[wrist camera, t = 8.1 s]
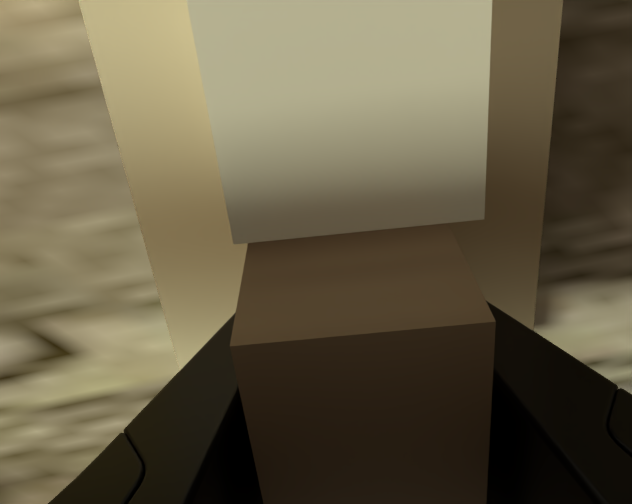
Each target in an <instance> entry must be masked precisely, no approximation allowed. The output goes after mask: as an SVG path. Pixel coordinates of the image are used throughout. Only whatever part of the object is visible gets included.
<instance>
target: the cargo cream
mask: <svg viewBox="0 0 632 504" xmlns="http://www.w3.org/2000/svg"><path fill="white" fill-rule="evenodd" d="M186 1H187V6H188V11H189V16H190V21H191V26H192V32H193V37H194V42H195V47H196V52H197V58H198V63H199V68H200V73H201V78H202V83H203V89H204V94H205V99H206V104H207V109H208V115H209V120H210V125H211V130H212V135H213V140H214V146H215V151H216V156H217V161H218V166H219V171H220V177H221V182H222V187H223V192H224V197H225V203H226V208H227V213H228V218H229V223H230V228H231V234H232V239H233V244H244V243H254V242H264V241H274V240H284V239H294V238H304V237H314V236H324V235H334V234H344V233H354V232H364V231H374V230H384V229H394V228H404V227H414V226H424V225H434V224H444V223H454V222H463V221H473V220H483V219H484V216H485V188H486V161H487V133H488V105H489V77H490V50H491V22H492V0H186Z"/></svg>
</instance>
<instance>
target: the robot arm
mask: <svg viewBox="0 0 632 504" xmlns="http://www.w3.org/2000/svg"><path fill="white" fill-rule="evenodd" d="M486 302H487V304H488V306H489V308H490V310H491V313H492V315H493V317H494V319H495V321H496V328H495V347H494V367H493V386H492V405H491V424H490V443H489V462H488V481H487V500H486V504H632V394H630V393H629V392H627V391H625V390H624V389H622V388H620V389H618V386H617V385H616V384H614V383H613V382H611V381H610V380H608V379H607V378H605V377H604V376H602V375H600V374H599V373H597V372H596V371H594V370H593V369H591V368H590V367H588V366H587V365H585V364H583V363H582V362H580V361H579V360H577V359H576V358H574V357H573V356H571V355H570V354H568V353H567V352H565V351H563V350H562V349H560V348H559V347H557V346H556V345H554V344H553V343H551V342H550V341H548V340H546V339H545V338H543V337H542V336H540V335H539V334H537V333H536V332H534V331H533V330H531V329H530V328H528V327H526V326H525V325H523V324H522V323H520V322H519V321H517V320H516V319H514V318H513V317H511V316H509V315H508V314H506V313H505V312H503V311H502V310H500V309H499V308H497V307H496V306H494V305H493V304H491V303H489V302H488V301H486ZM235 313H236V312H235ZM235 313H234V314H233V315H232V316H231V318H230V319H229V320H228V321H227V322H226V323H225V324H224V325H223V326H222V327H221V328H220V329H219V330H218V331H217V332H216V333H215V334H214V335H213V336H212V337H211V339H210V340H209V341H208V342H207V343H206V344H205V345H204V346H203V347H202V348H201V349H200V350H199V351H198V352H197V353H196V354H195V355H194V356H193V357H192V358H191V360H190V361H189V362H188V363H187V364H186V365H185V366H184V367H183V368H182V369H181V370H180V371H179V372H178V373H177V374H176V375H175V376H174V377H173V378H172V379H171V381H170V382H169V383H168V384H167V385H166V386H165V387H164V388H163V389H162V390H161V391H160V392H159V393H158V394H157V395H156V396H155V397H154V398H153V399H152V400H151V402H150V403H149V404H148V405H147V406H146V407H145V408H144V409H143V410H142V411H141V412H140V413H139V414H138V415H137V416H136V417H135V418H134V419H133V420H132V421H131V423H130V424H129V425H128V426H127V427H126V428H125V429H124V433H120V434H119V435H118V436H117V437H116V438H115V439H114V440H113V441H112V442H111V443H110V444H109V445H108V446H107V447H106V448H105V450H104V451H103V452H102V453H101V454H100V455H99V456H98V457H97V458H96V459H95V460H94V461H93V462H92V463H91V464H90V465H89V466H88V467H87V468H86V469H85V470H84V471H83V472H82V473H81V474H80V475H79V476H78V477H77V478H76V479H74V480H73V481H72V482H71V483H70V484H69V485H68V486H67V487H66V488H65V489H63V490H62V491H61V492H60V493H59V494H58V495H57V496H56V497H55V498H54V499H53V500H51V501H50V502H49V503H48V504H264V503H263V499H262V494H261V490H260V485H259V480H258V476H257V471H256V466H255V462H254V457H253V452H252V448H251V443H250V438H249V434H248V429H247V425H246V420H245V415H244V411H243V406H242V401H241V397H240V392H239V387H238V383H237V378H236V373H235V369H234V364H233V360H232V355H231V350H230V342H231V336H232V330H233V325H234V319H235Z"/></svg>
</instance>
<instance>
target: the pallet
mask: <svg viewBox="0 0 632 504" xmlns="http://www.w3.org/2000/svg"><path fill="white" fill-rule="evenodd" d="M78 1H79V4H80V8H81V12H82V15H83V19H84V23H85V26H86V30H87V34H88V37H89V41H90V45H91V48H92V52H93V56H94V59H95V63H96V67H97V70H98V74H99V78H100V81H101V85H102V89H103V92H104V96H105V100H106V103H107V107H108V111H109V114H110V118H111V122H112V125H113V129H114V133H115V136H116V140H117V144H118V147H119V151H120V155H121V158H122V162H123V166H124V169H125V173H126V177H127V180H128V184H129V188H130V191H131V195H132V199H133V202H134V206H135V210H136V213H137V217H138V221H139V224H140V228H141V232H142V235H143V239H144V243H145V246H146V250H147V254H148V257H149V261H150V265H151V268H152V272H153V276H154V279H155V283H156V287H157V290H158V294H159V297H160V301H161V305H162V308H163V312H164V316H165V319H166V323H167V327H168V330H169V334H170V338H171V341H172V345H173V349H174V352H175V356H176V360H177V363H178V367H179V371H180V370H181V369H182V368H183V367H184V366H185V365H186V364H187V363H188V362H189V361H190V360H191V358H192V357H193V356H194V355H195V354H196V353H197V352H198V351H199V350H200V349H201V348H202V347H203V346H204V345H205V344H206V343H207V342H208V341H209V340H210V339H211V337H212V336H213V335H214V334H215V333H216V332H217V331H218V330H219V329H220V328H221V327H222V326H223V325H224V324H225V323H226V322H227V321H228V320H229V319H230V318H231V316H232V315H233V314H234V313H235V312H236V313H235V319H234V325H233V330H232V336H231V342H230V350H231V355H232V360H233V364H234V369H235V373H236V378H237V383H238V387H239V392H240V397H241V401H242V406H243V411H244V415H245V420H246V425H247V429H248V434H249V438H250V443H251V448H252V452H253V457H254V462H255V466H256V471H257V476H258V480H259V485H260V490H261V494H262V499H263V503H264V504H486V500H487V481H488V462H489V443H490V424H491V405H492V386H493V367H494V347H495V328H496V321H495V319H494V317H493V315H492V313H491V310H490V308H489V306H488V304H487V302H486V301H488V302H489V303H491V304H493V305H494V306H496V307H497V308H499V309H500V310H502V311H503V312H505V313H506V314H508V315H509V316H511V317H513V318H514V319H516V320H517V321H519V322H520V323H522V324H523V325H525V326H526V327H528V328H530V329H531V330H533V329H534V318H535V307H536V295H537V284H538V273H539V262H540V251H541V240H542V229H543V218H544V207H545V196H546V185H547V174H548V162H549V151H550V140H551V129H552V118H553V107H554V96H555V85H556V74H557V63H558V52H559V41H560V29H561V18H562V7H563V0H492V22H491V50H490V77H489V105H488V133H487V161H486V188H485V216H484V219H483V220H473V221H463V222H454V223H444V224H434V225H424V226H414V227H404V228H394V229H384V230H374V231H364V232H354V233H344V234H334V235H324V236H314V237H304V238H294V239H284V240H274V241H264V242H254V243H244V244H233V239H232V234H231V228H230V223H229V218H228V213H227V208H226V203H225V197H224V192H223V187H222V182H221V177H220V171H219V166H218V161H217V156H216V151H215V146H214V140H213V135H212V130H211V125H210V120H209V115H208V109H207V104H206V99H205V94H204V89H203V83H202V78H201V73H200V68H199V63H198V58H197V52H196V47H195V42H194V37H193V32H192V26H191V21H190V16H189V11H188V6H187V1H186V0H78Z"/></svg>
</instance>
